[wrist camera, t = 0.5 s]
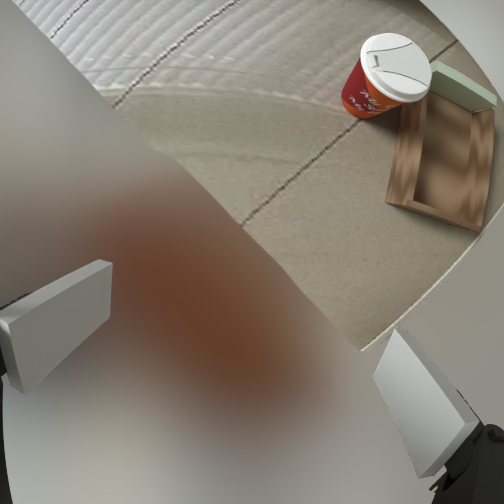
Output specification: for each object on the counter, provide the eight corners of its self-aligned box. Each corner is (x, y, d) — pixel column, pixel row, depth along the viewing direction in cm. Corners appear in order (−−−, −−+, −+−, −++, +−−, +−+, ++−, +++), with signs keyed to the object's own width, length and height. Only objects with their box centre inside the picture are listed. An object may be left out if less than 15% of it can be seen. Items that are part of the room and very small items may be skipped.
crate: (403, 84, 32) (423, 69, 26) (470, 117, 32) (494, 110, 25) (384, 202, 36) (405, 205, 30) (454, 225, 36) (480, 232, 29)
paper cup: (340, 128, 34) (377, 98, 21) (327, 75, 33) (354, 26, 19) (392, 124, 34) (446, 100, 20) (379, 74, 32) (423, 33, 18)
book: (411, 74, 31) (435, 59, 24) (468, 104, 31) (497, 97, 23) (410, 83, 31) (435, 69, 24) (468, 113, 31) (497, 107, 24)
